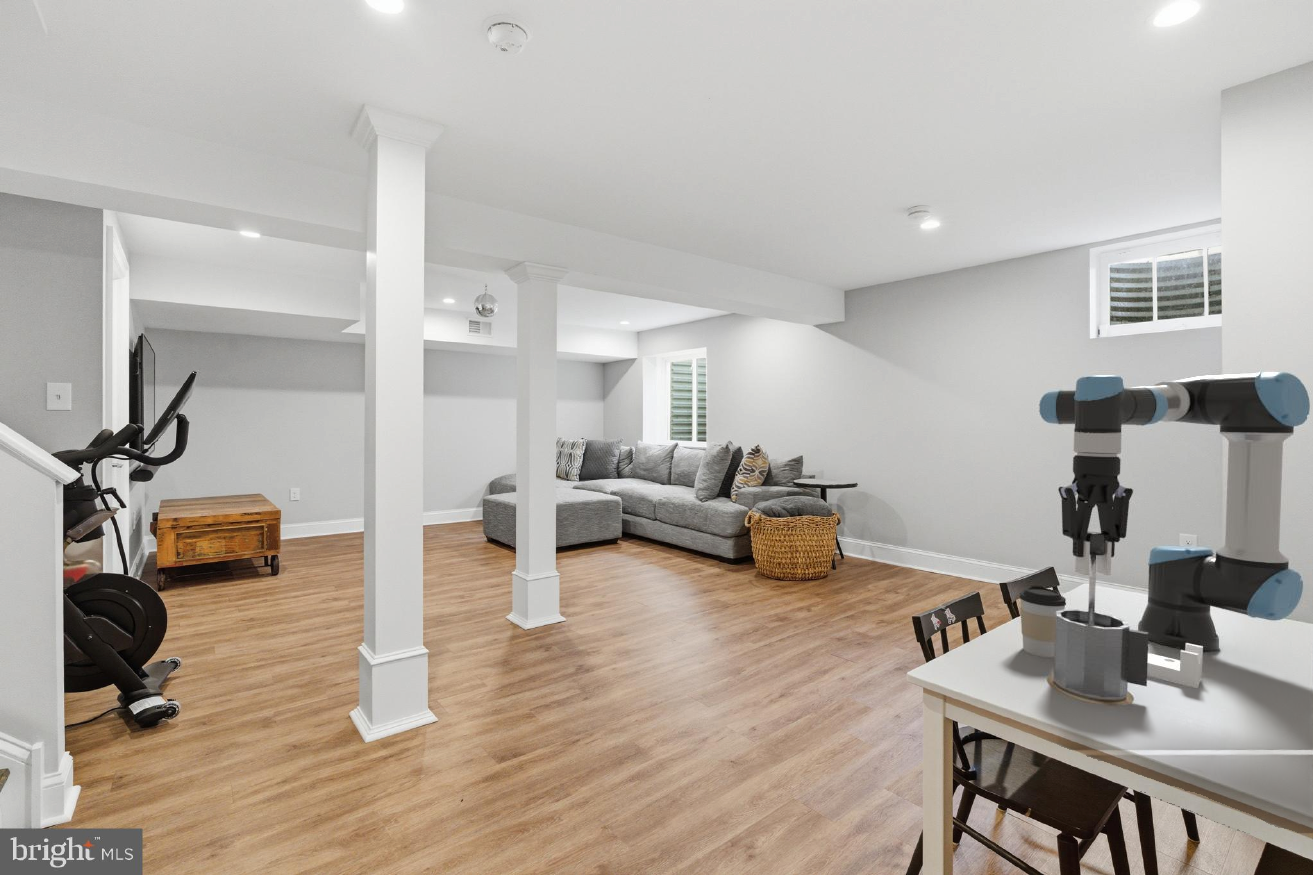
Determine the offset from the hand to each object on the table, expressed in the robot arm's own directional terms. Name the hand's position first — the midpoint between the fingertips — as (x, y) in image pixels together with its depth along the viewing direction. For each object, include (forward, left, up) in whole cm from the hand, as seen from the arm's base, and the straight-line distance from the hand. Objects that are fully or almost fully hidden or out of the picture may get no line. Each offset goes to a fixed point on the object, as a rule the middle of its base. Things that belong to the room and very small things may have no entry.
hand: (1092, 573), depth 119 cm
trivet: (0, 0, -24) cm, 24 cm away
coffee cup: (-3, -19, -24) cm, 31 cm away
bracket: (-20, -8, -24) cm, 33 cm away
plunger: (0, 0, -12) cm, 12 cm away
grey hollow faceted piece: (0, 0, -23) cm, 23 cm away
